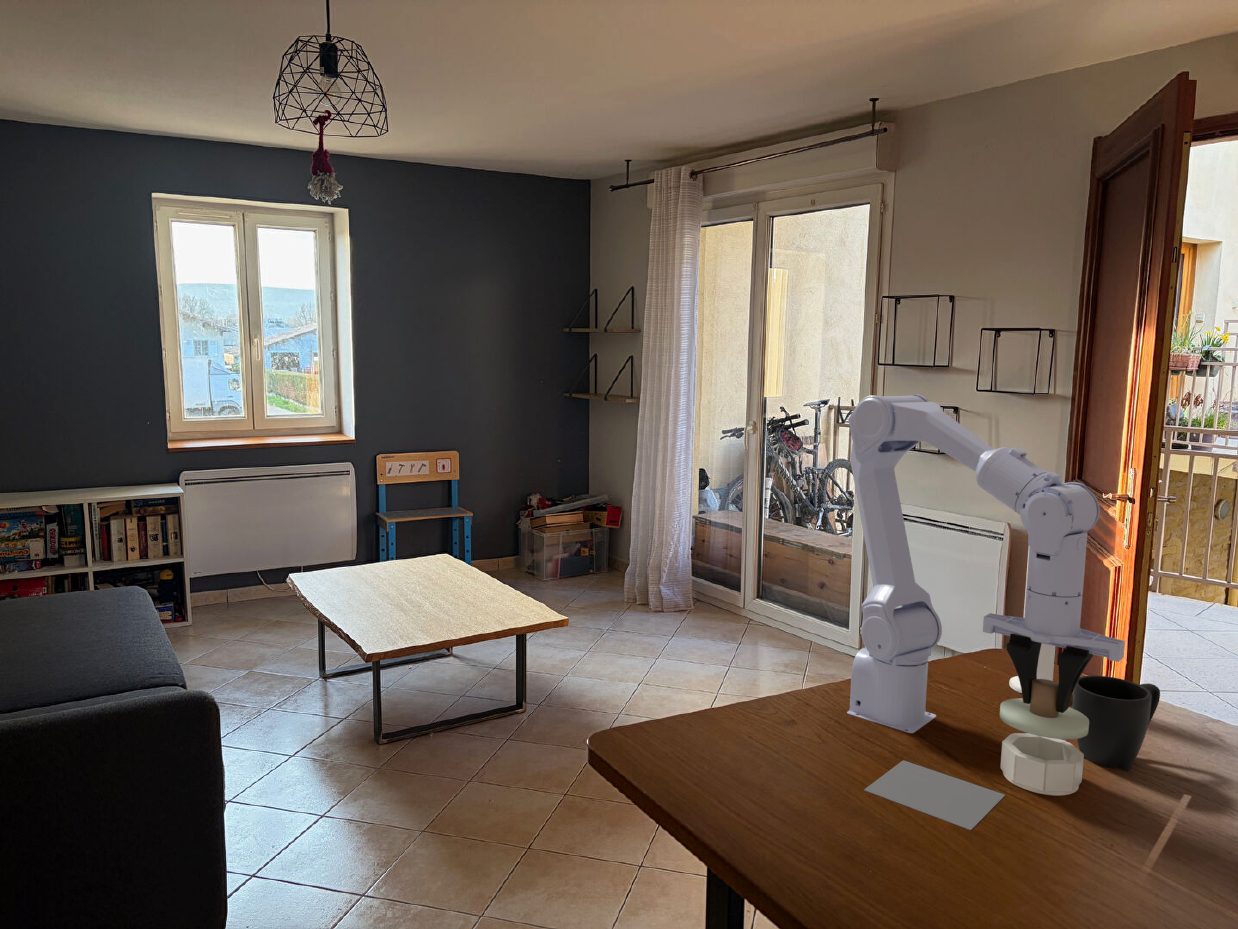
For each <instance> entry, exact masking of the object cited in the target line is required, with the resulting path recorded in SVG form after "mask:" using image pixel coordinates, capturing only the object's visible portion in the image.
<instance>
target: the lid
mask: <svg viewBox="0 0 1238 929" xmlns="http://www.w3.org/2000/svg"><path fill="white" fill-rule="evenodd" d="M1058 688H1059V682H1057V681H1055V680H1053V681H1051V680H1046V679H1034V680H1032V689H1031V700H1030V704H1027V703H1023V697H1021V698H1020V697H1019V698H1010V699H1006V700H1003V701H1002V702H1001V703H1000V708H999V718H1000V719H1001V720H1002V722H1003V723H1005V724H1006V725H1008V726H1010V727H1011V728H1014V729H1016V730H1019V731H1020V732H1022V733H1030V734H1033V735H1037V736H1042V737H1047V738H1055V739H1061V740H1077V739H1078V738H1082V737H1085V736H1086V735H1087V734H1088V730H1089V719H1088V718H1087V717H1086V716H1085V715H1084V714H1082V713H1081V712H1079V711H1077V710H1075V709H1073V707H1068V709H1067V710H1066V711H1065V712H1064V713H1060V712H1057V711H1056V703H1057V695H1058Z"/></svg>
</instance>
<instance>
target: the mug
mask: <svg viewBox="0 0 1238 929" xmlns="http://www.w3.org/2000/svg"><path fill="white" fill-rule="evenodd" d="M1160 698H1161V690H1160V688H1159V687H1158V686H1157V685H1155V684H1153V683H1141V684H1138V683H1135V682H1132V681H1131V680H1126V679H1123V678H1118V677H1113V676H1106V675H1085V676H1084V675H1083V676H1080V678H1079V679H1078V681H1077V684H1076V686H1075V688H1074V690H1073V693H1072V705H1071V706H1072V707H1071V708H1072V709H1075V710H1077V711H1079V712H1081V713H1082V714H1084V715H1085V716H1086V717H1087V718H1088V719H1089V730H1088V734H1087V735H1086V736H1085V737H1082V738H1078V739H1076V741H1077V745H1078V750H1079V751H1081V752H1082V753H1083V755H1084V760H1086V761H1088V762H1090V763H1093V764H1095V765H1098V766H1102V767H1104V768H1105V767H1106V768H1110V769H1118V770H1121V771H1124V772H1129V771H1130V770H1132V769H1133V765H1134V762H1135V761H1136V758H1137V757H1138V755H1139V752H1140V750H1141V748H1142V745H1143V742H1144V740H1145V737H1146V734H1147V731H1148V728H1149V725H1150V723H1151V721H1152V719H1153V717H1154V715H1155V713H1156V711H1157V708H1158V706H1159V703H1160Z"/></svg>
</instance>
